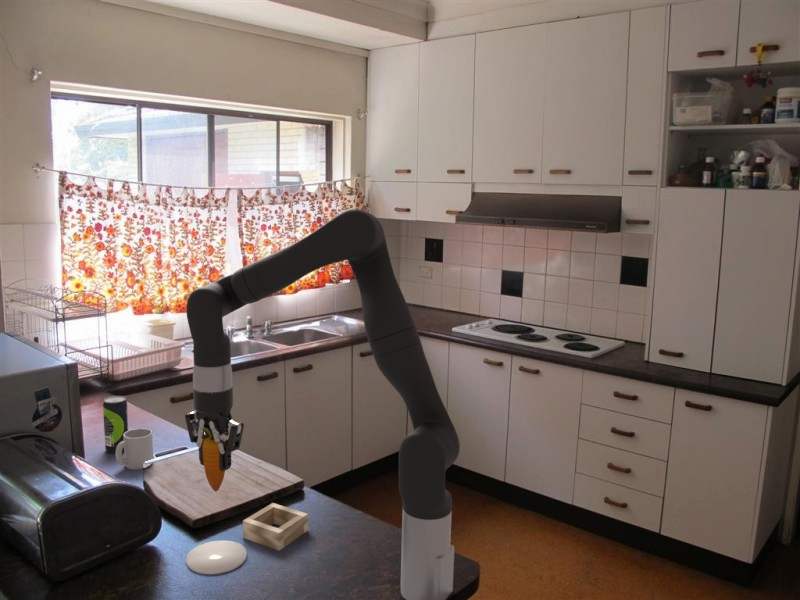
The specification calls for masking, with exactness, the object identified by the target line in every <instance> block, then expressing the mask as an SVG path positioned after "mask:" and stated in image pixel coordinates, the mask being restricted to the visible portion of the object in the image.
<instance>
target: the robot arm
mask: <svg viewBox="0 0 800 600" xmlns="http://www.w3.org/2000/svg"><path fill="white" fill-rule="evenodd" d="M343 261H347V262H348V264H349V267H350V269H351V270H352V273H353V275H354V278H355V280H356V283H357V285H358V290H359V293H360V294H359V295H360V302H361V310H362V318H363V324H364V329H365V333H366V337H367V341H368V344H369V348H370V349H371V353H372V355H373V358H374V361H375V364H376V366H377V368H378V369H379V371H380V372H381V374H382V375H383V376H384V378H385V379H386V380H387V381H388V383H390V384H391V386H392V387H393V388H394V389H395V390H396V391H397V393H398V394H399V396H401V398H402V400H403V402H404V404H405V406H406V409H407V411H408V415H409V417H410V421H411V423H412V427H413V431H411V432H409V433H408V434H407V435H406V436H405V437H404V438H403V439H402V441H401V443H400V446H399V451H398V491H399V496H400V497H401V500H402V516H401V517H402V520H401V521H402V522H401V524H402V525H401V559H400V581H399V582H400V594H401V596H402V598H403V599H405V600H447V598H448V597H449V596H450V595H451V594H452V593H453V592H454V591H453V590H454V571H455V569H454V566H455V565H454V563H455V546H454V545H453V544H451V538H452V537H451V535H452V534H451V533H452V516H453V515H452V511H453V510H452V509H453V498H452V497H453V496H452V494H451V493H450V491H449V490H447V489H446V471H447V469H449V468H450V467H451V466H452V465H453V464H454V463H455V461H456V460H457V459H458V457H459V454H460V451H461V450H460V447H461V444H460V438H459V436H458V433H457V430H456V428H455V426H454V424H453V422H452V419H451V417H450V415H449V414H448V411H447V409H446V406H445V405H444V402H443V401H442V400H443V399H442V398H441V395H440V393H439V392H438V389H437V388H438V387H437V385H436V383H435V380H434V376H433V374H432V371H431V368H430V366H429V365H430V364H429V362H428V360H427V357H426V354H425V352H424V348H423V345H422V342H421V339H420V335H419V332H418V329H417V326H416V324H415V321H414V319H413V317H412V314H411V311H410V308H409V307H408V303H407V301H406V299H405V296H404V295H403V292H402V289H401V287H400V285H399V282H398V281H397V279H396V276H395V272H394V269H393V266H392V262H391V257H390V253H389V249H388V244H387V240H386V235H385V231H384V228H383V225H382V223H381V222H380V220H379V219H378V218H377V217H376V216H375V215H373V214H372V213H370V212H368V211H366V210H362V209H358V208H350V209H346V210H343V211H342V212H340V213H338V214H337V215H336V216H334V217H333V218H332V219H330V220H329V221H328V222H326V223H324V224H323V225H322V226H320V227H319V228H317V229H316V230H314V231H313V232H312V233H310V234H308V235H307V236H304V237H303V238H302V239H300V240H298V241H296V242H294V243H292V244H291V245H288V246H286V247H284V248H282V249H280V250H278V251H274V252H272V253H271V254H268V255H267V256H264V257H262V258H259V259H258V260H255V261H253V262H251V263H249V264H246V265H245V266H243V267H241V268H239V269H238V270H236V271H235V272H233V273H231V274H229V275H227V276H224V277H221V278H220V279H217V280H215V281H213V282H210V283H207V284H205V285H203V286H200V287H197V288H196V289H194V290H192V292H191V293H190V294H189V296H188V298H187V301H186V309H185V310H186V319H187V323H188V324H187V325H188V327H189V332H190V335H191V336H190V337H191V339H192V342H193V344H192V345H193V347H192V349H193V369H192V370H193V371H192V386H193V390H192V392H193V393H192V394H193V408H194V410H193V411H191V412H188V413H186V414H185V415H184V418H185V423H186V428H187V433H188V436H189V441H190V442H191V443H195V444H196V446H197V448H198V459H199V464H200V465H201V466H204V462H203V448H202V447H203V442H204V440H205V439H206V438H208V437H210V435H209V434H208V433H207V432H206V431H204V430H202V427H206V428H208V429H209V431H210V434H211V435H213V436H214V439H215V442H216V443H217V444H218V446H219V450H220V470H221V471H225V472H226V471H227V470H229V469H230V468H231V466H232V453H233V452H234V451H237V450H239V449H240V446H241V442H242V439H243V438H242V437H243V432H244V427H245V425H244V423H243V422H242V421H240V422H236V421H235V420H234V419H233V417H232V414H231V411H232V408H233V406H234V391H233V390H234V389H233V388H234V386H233V383H234V382H233V368H232V361H231V360H232V359H231V357H232V356H231V355H232V354H231V350H232V349H231V339H230V337H229V335H228V334H227V333H225V331H224V323H223V318H224V317H226V316H227V315H229V314H231V313H233V312H235V311H237V310H239V309H241V308H242V307H245V306H246V305H250V304H253V303H257V302H259V301H262V300H263V299H266V298H267V297H270V296H272V295H275V294H276V293H278V292H280V291H282V290H284V289H286V288H288V287H289V286H291V285H292V284H294V283H295V282H297V281H299V280H300V279H302V278H303V277H305V276H307V275H308V274H310V273H312V272H315V271H317V270H319V269H321V268H324V267H326V266H329V265H331V264H332V265H333V264H336V263H339V262H343ZM195 433H196V434H195ZM220 436H221V437H220ZM224 441H225V442H226V446H225V445H224Z"/></svg>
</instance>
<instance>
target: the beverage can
mask: <svg viewBox="0 0 800 600" xmlns="http://www.w3.org/2000/svg"><path fill="white" fill-rule="evenodd" d="M126 399H127V398H126V396H124V395H112V396H109V397H105V398H104V399H103V404H102V410H103V426H104V427H103V431H104V448H105V450H106V452H108V453H110V454H116V453H115V452H116V448H117V445H118V444H119V443H120V442H122V441H124V437H123V434H124V433H125V432H127V431H129V417H128V416H129V415H128V413H129V412H128V401H127V400H126ZM122 453H124V447H123V449H122Z"/></svg>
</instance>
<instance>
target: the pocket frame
mask: <svg viewBox="0 0 800 600" xmlns="http://www.w3.org/2000/svg"><path fill="white" fill-rule="evenodd" d="M274 524H275V525H277V526H279V527H276V526H273V525H274ZM308 524H309V514H308V513H306V512H302V511H301V510H296V509H293V508H290V507H287V506H284V505H280V504H278V503H274V502H271V503H270V504H269V505H267V506H265V507H264V508H261V509H260V510H258V511H257V512H255V513H253V514H252V515H250V516H248V517H247V518H245V519H243V520H242V538H243V539H246V540H248V541H251V542H253V543H257V544H259V545H262V546H265V547H268V548H270V549H274V550H276V551H278V552H279V551H281V550H282V549H284V548H285V547H287V546H289V544H291V543H293V542H294V541H296V540H297V539H298V538H300V537H301V536H302V535H304V534H305V533H307V532H308V531H309V525H308Z"/></svg>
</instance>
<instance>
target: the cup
mask: <svg viewBox="0 0 800 600" xmlns="http://www.w3.org/2000/svg"><path fill="white" fill-rule="evenodd" d="M123 437H124V441H122V442H120V443H119V444H118V445H117V448H116V452H115V453H114V454H115V459H116V462H117V463H118V465H120V466H125V468H126V469H128V470H132V471H138V470H139V471H140V470H144V469H143V463H144V462H145V461H148V460H151V459H153V460H154V447H153V446H154V444H153V443H154V442H153V431H152V429H150V428H135V429H133V428H132V429H128V431H127V432H125V433H124V434H123ZM123 447H124V452H122V449H123ZM123 453H124V457H123Z"/></svg>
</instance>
